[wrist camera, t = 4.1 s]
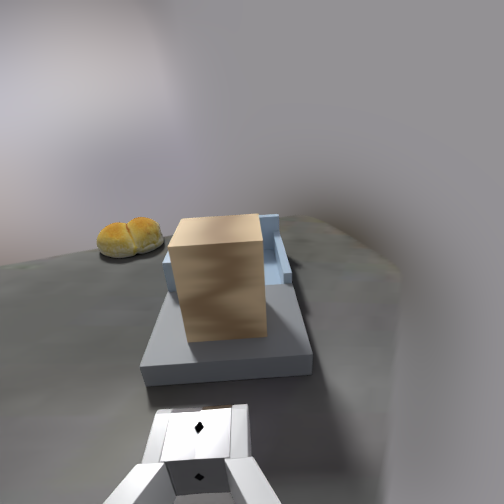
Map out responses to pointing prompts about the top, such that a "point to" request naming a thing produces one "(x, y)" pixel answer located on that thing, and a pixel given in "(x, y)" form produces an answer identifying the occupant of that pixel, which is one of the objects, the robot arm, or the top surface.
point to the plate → (229, 346)
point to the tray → (273, 252)
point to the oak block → (220, 277)
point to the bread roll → (130, 238)
